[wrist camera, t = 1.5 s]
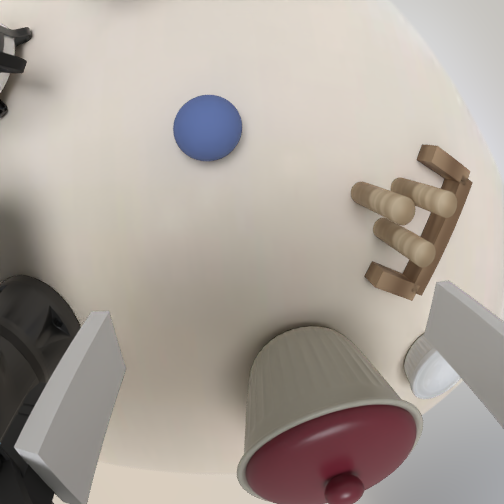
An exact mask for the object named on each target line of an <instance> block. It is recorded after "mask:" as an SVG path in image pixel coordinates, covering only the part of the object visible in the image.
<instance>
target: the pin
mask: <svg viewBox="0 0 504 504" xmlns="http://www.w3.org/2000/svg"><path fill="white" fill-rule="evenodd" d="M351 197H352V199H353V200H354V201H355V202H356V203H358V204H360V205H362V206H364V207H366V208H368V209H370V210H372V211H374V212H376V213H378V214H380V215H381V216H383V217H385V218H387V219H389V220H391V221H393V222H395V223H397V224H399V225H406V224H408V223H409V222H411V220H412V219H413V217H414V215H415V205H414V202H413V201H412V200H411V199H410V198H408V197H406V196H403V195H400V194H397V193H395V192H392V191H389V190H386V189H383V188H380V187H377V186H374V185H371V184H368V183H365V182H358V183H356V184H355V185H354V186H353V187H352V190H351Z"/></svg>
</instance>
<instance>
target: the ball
mask: <svg viewBox="0 0 504 504" xmlns="http://www.w3.org/2000/svg"><path fill="white" fill-rule="evenodd" d="M173 131H174V137H175V140H176V143H177V144H178V146H179V148H180V149H181V150H182V151H183V152H184V153H185V154H186V155H188V156H189V157H191V158H193V159H196V160H200V161H214V160H218V159H220V158H223V157H225V156H226V155H228V154H229V153H230V152H231V151H232V150H233V149H234V148H235V147H236V145H237V144H238V142H239V140H240V137H241V133H242V122H241V117H240V115H239V113H238V111H237V109H236V108H235V107H234V105H233V104H232V103H230V102H229V101H228V100H226V99H224V98H222V97H219V96H215V95H202V96H198V97H195V98H193V99H191V100H189V101H188V102H187V103H185V104H184V105H183V106H182V107H181V109H180V110H179V112H178V113H177V115H176V118H175V121H174V127H173Z"/></svg>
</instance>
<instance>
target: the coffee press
mask: <svg viewBox="0 0 504 504" xmlns="http://www.w3.org/2000/svg"><path fill="white" fill-rule="evenodd" d="M31 37H32V35H31V32H30V29H29V28H28V27H25V28H21V29H16V30H11V29H9V28H7V27H6V26H5V25H3V24H1V23H0V93H1V91H2V90H3V88H4V86H5V84H6V82H7V80H8V77H9V75H10V73H23V72H24V69H25V66H26V63H27V61H26V60H24V59H22V58H19V57H17V56H14V54H15V47H16V46H18V45H20V44H23V43H25V42H27V41H29V40H30V39H31ZM6 112H7V106H6V105H5V104H4V103H3V102H2V101H1V100H0V118H1V117H2V116H3V115H4V114H5V113H6Z"/></svg>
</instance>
